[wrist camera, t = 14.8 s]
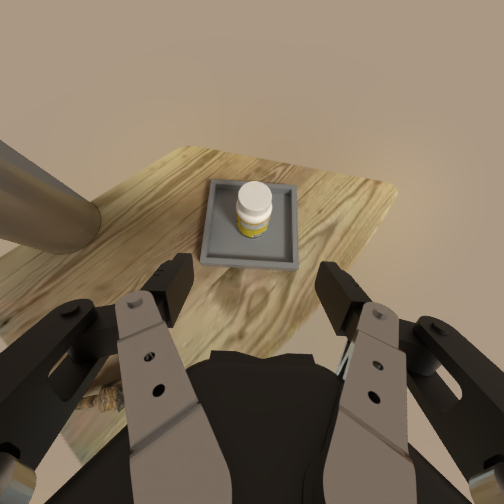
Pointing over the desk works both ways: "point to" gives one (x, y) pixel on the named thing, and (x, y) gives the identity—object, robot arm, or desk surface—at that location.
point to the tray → (250, 250)
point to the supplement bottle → (253, 209)
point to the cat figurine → (105, 398)
